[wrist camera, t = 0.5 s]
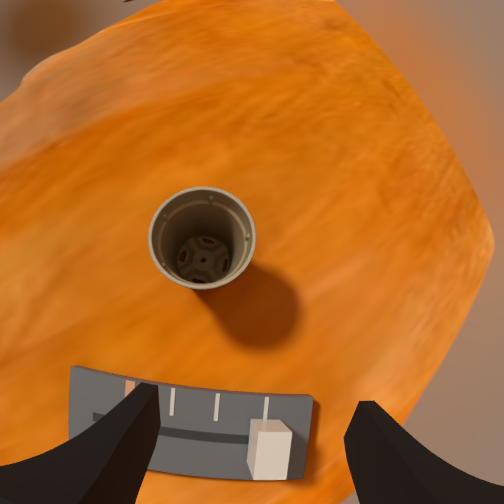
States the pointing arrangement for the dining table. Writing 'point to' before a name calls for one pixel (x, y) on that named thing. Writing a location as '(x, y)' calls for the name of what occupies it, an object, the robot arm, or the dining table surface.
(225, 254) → the flower pot
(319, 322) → the dining table surface
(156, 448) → the console
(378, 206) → the dining table surface
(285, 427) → the fader
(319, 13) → the dining table surface
